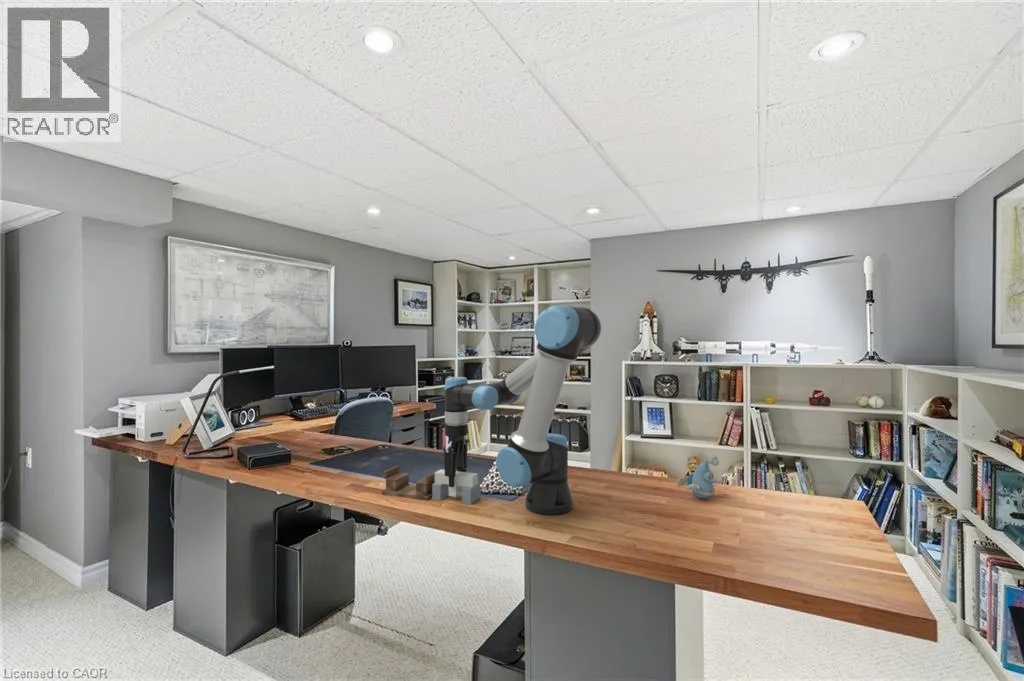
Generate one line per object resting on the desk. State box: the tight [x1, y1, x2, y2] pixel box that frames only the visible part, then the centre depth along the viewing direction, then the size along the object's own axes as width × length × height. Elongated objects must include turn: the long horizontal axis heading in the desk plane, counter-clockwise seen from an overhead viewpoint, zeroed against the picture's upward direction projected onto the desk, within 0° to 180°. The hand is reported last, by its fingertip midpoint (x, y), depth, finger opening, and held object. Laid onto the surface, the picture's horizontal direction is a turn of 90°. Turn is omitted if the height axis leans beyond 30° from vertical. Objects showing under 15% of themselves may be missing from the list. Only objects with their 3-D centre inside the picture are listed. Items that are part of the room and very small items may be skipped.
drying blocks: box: [431, 482, 481, 506], centre depth 156 cm, size 14×7×5 cm, turn 69°
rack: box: [381, 465, 438, 501], centre depth 162 cm, size 18×10×7 cm, turn 69°
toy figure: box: [676, 455, 720, 499], centre depth 156 cm, size 17×10×15 cm, turn 129°
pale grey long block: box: [435, 469, 479, 488], centre depth 156 cm, size 14×4×4 cm, turn 69°
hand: (456, 493), depth 156 cm, fingers closed on pale grey long block, 4 cm apart
